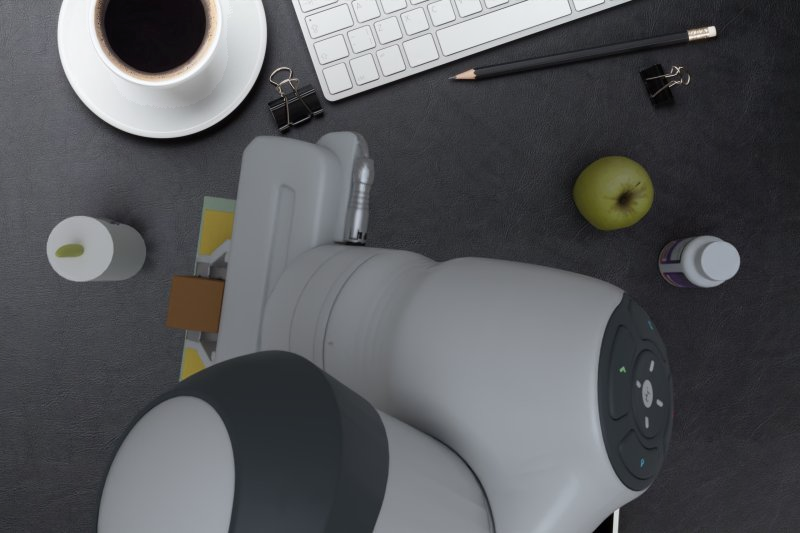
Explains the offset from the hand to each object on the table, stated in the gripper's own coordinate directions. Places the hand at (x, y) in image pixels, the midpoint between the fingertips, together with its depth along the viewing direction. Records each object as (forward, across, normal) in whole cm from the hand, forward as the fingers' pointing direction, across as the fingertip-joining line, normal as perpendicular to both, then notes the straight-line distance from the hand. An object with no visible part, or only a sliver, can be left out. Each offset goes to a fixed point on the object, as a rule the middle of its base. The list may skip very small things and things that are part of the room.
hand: (200, 301), depth 48 cm
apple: (+1, -15, +50) cm, 52 cm away
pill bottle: (-6, -9, +57) cm, 58 cm away
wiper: (+3, 0, +4) cm, 5 cm away
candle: (+38, -2, +13) cm, 40 cm away
